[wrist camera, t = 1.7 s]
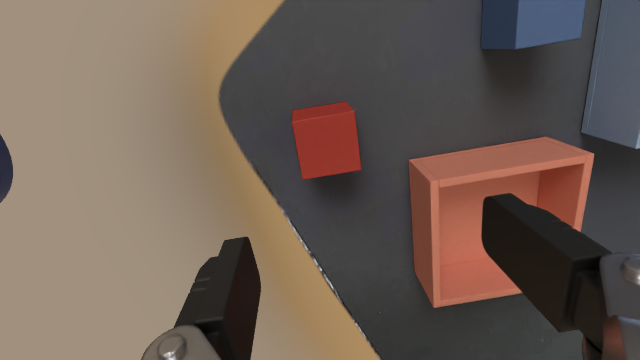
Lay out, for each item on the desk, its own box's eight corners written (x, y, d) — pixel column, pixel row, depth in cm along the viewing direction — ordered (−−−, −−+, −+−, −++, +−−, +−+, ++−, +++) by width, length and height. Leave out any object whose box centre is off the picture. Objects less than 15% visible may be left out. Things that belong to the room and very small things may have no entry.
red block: (302, 160, 25) (302, 180, 22) (292, 110, 24) (291, 121, 20) (352, 152, 25) (361, 170, 22) (346, 101, 24) (354, 111, 20)
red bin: (414, 271, 30) (433, 308, 26) (408, 159, 26) (430, 181, 22) (532, 251, 30) (571, 284, 26) (546, 136, 26) (595, 153, 22)
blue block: (480, 49, 23) (515, 49, 19) (482, -15, 21) (521, -28, 18) (535, 40, 23) (581, 38, 19) (541, -25, 21) (592, -40, 18)
